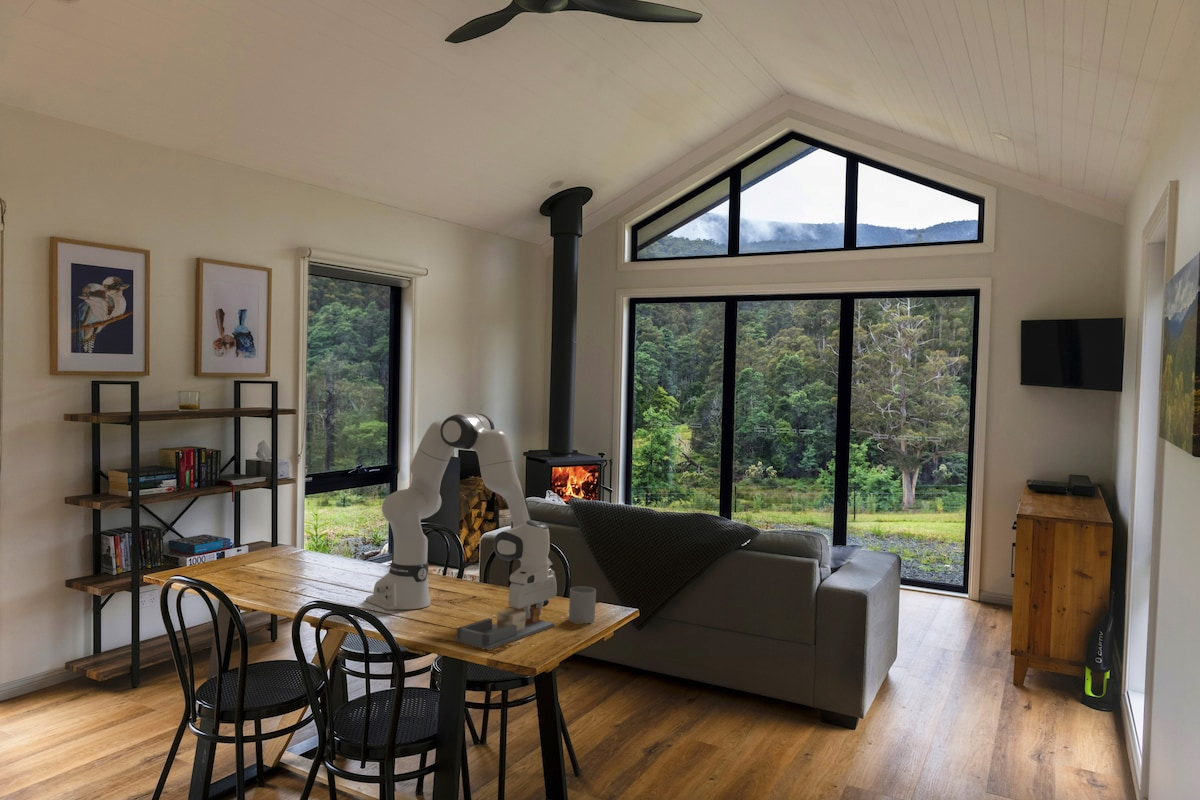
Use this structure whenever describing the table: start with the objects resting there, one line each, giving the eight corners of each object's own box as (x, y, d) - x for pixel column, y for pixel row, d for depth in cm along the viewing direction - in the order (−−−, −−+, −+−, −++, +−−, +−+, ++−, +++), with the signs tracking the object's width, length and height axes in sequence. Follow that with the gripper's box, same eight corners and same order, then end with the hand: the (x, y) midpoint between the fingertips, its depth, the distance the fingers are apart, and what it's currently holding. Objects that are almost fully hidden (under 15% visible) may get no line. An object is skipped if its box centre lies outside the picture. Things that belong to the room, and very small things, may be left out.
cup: (600, 620, 264) (601, 590, 264) (582, 625, 258) (583, 594, 258) (580, 615, 270) (582, 585, 270) (563, 619, 264) (564, 588, 264)
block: (496, 628, 247) (497, 612, 247) (528, 618, 260) (528, 602, 260) (512, 632, 244) (512, 616, 244) (542, 622, 257) (543, 606, 256)
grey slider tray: (454, 641, 237) (454, 627, 237) (521, 618, 263) (522, 606, 263) (488, 650, 230) (488, 636, 230) (554, 626, 256) (554, 613, 256)
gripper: (546, 566, 267) (545, 608, 267) (505, 576, 250) (504, 621, 250) (562, 569, 264) (560, 612, 264) (522, 580, 247) (520, 625, 247)
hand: (532, 617), depth 257 cm, fingers closed on block, 3 cm apart
